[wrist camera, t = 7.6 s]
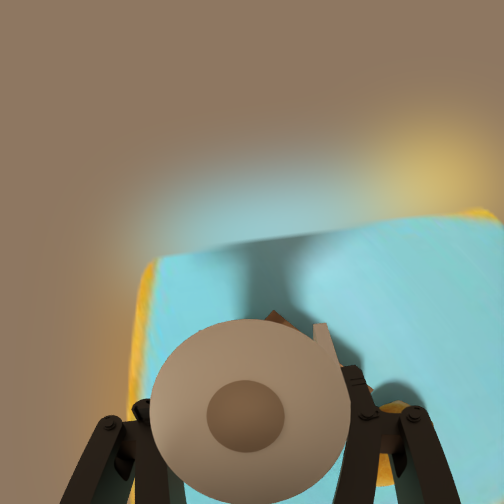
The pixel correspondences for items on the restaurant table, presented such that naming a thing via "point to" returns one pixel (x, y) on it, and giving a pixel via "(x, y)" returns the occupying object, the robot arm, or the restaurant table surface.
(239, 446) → the paper roll
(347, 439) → the robot arm
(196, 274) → the restaurant table surface
